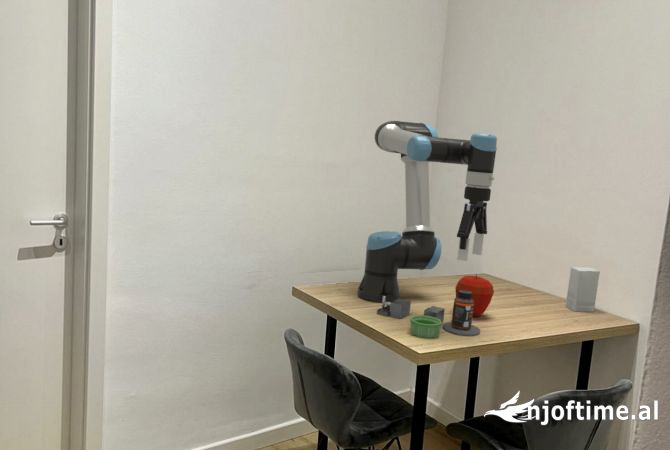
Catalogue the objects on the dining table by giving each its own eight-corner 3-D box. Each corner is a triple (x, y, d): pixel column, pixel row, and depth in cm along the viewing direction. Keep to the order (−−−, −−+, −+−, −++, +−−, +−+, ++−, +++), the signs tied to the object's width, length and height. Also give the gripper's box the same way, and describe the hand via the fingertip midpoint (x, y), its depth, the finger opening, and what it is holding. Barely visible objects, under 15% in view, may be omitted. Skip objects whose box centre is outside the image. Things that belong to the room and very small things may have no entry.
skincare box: (584, 307, 222) (590, 267, 220) (595, 312, 215) (601, 271, 213) (564, 306, 220) (570, 265, 218) (574, 311, 214) (580, 269, 212)
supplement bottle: (471, 331, 176) (475, 295, 175) (451, 329, 177) (455, 292, 176) (470, 326, 182) (474, 290, 181) (450, 323, 183) (455, 288, 182)
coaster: (437, 330, 178) (438, 327, 178) (450, 322, 188) (450, 319, 187) (473, 338, 173) (473, 336, 172) (484, 330, 182) (484, 327, 182)
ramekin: (442, 333, 176) (444, 318, 175) (435, 341, 168) (437, 326, 167) (413, 327, 179) (415, 313, 179) (405, 335, 171) (406, 320, 170)
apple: (446, 313, 197) (450, 272, 195) (464, 308, 206) (468, 268, 204) (479, 323, 189) (484, 280, 187) (496, 317, 198) (501, 276, 196)
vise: (375, 313, 190) (376, 298, 189) (387, 308, 198) (389, 293, 197) (433, 328, 180) (435, 312, 179) (444, 321, 188) (446, 306, 187)
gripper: (477, 189, 162) (468, 265, 165) (502, 187, 183) (493, 254, 186) (451, 186, 165) (442, 260, 168) (478, 184, 187) (470, 250, 190)
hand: (469, 257), depth 177 cm, fingers open, 13 cm apart
